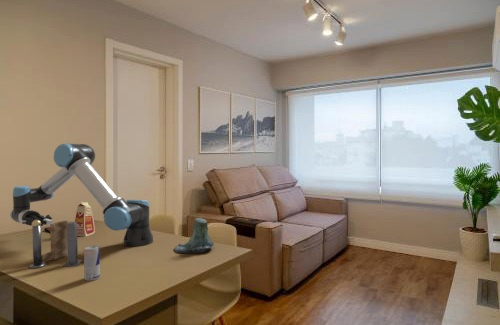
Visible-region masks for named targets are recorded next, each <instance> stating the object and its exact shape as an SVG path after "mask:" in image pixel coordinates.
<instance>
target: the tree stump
mask: <svg viewBox="0 0 500 325" xmlns="http://www.w3.org/2000/svg"><path fill="white" fill-rule="evenodd" d="M192 229H193V231H192V235H191V236H190V237H189V240H188V241H187V242H186V243H184V244H182V243H179V244H178V245H177V246H175V247H174V248H173V249H174V251H175V252H176V253H178V254H200V253H201V254H202V253H203V252H205V251H207V250H209V249H211V248H212V247H213V246H214V243H215V242H214V241H211V236H210V235H209V227H208V221H207V220H206V219H204V218H202V217H196V218H194V224H192Z"/></svg>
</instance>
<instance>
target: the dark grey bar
mask: <svg viewBox="0 0 500 325" xmlns="http://www.w3.org/2000/svg"><path fill="white" fill-rule="evenodd" d="M67 244H68V255H67V261H66V262H65V263H63V265H62V267H63V268H64V267H65V268H66V267H67V268H68V267H79V266H80V265H81V263H83V262H84V259H80V260H79V258H78V257H79V256H78V255H79V254H78V253H79V250H78V249H79V248H78V236H77V222H75V221H71V222H70V221H69V222H68V223H67Z"/></svg>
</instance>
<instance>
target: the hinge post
mask: <svg viewBox="0 0 500 325" xmlns="http://www.w3.org/2000/svg"><path fill="white" fill-rule="evenodd" d="M31 227H32V228H31V229H32V255H33V256H32V261H33V262H32V264H29V266H28V268H29V269H41V268H44V267H46V266H47V263H46V262H42V255H43V254H42V229H41V228H42V226H41V221H39V220H34V221H33V222H32V226H31Z"/></svg>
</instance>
